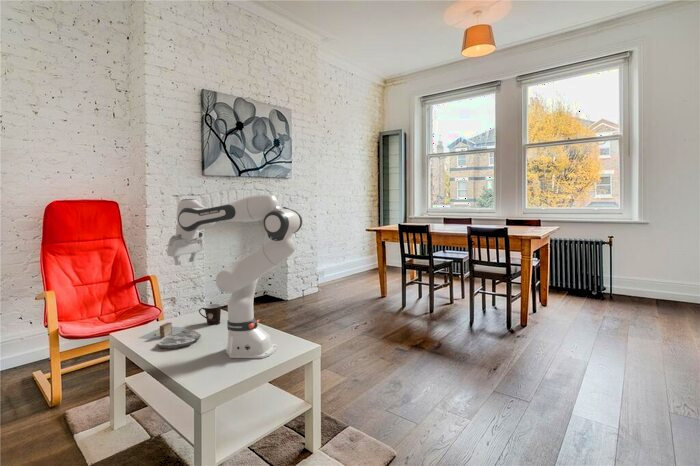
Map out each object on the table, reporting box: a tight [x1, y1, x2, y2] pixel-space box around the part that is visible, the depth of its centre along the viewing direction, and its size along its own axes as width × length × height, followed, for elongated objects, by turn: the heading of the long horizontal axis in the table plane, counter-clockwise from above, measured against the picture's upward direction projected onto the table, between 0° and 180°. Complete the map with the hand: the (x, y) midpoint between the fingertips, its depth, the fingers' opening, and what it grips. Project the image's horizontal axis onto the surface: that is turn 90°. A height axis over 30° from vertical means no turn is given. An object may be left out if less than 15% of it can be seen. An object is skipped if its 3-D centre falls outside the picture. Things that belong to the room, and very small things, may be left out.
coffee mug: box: [198, 303, 222, 326], centre depth 203 cm, size 12×9×10 cm
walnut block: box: [159, 322, 172, 338], centre depth 183 cm, size 2×6×6 cm, turn 165°
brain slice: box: [156, 329, 202, 350], centre depth 176 cm, size 20×17×3 cm
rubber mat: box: [138, 326, 187, 341], centre depth 189 cm, size 14×18×1 cm
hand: (184, 263), depth 171 cm, fingers open, 8 cm apart
